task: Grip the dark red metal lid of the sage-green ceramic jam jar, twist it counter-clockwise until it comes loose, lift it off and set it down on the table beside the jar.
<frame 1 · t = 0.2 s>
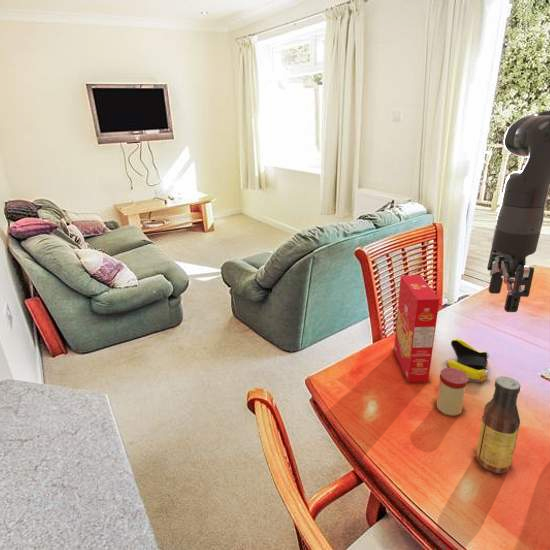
hand: (501, 301, 79), 29 cm above the table, tool pointing down, fingers open, 8 cm apart
food packaging: (409, 365, 107), on the table
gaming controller: (466, 369, 104), on the table
lid: (454, 376, 88), point 9 cm above the table, screwed on, not yet turned
jar: (448, 407, 91), on the table
sauce bottle: (491, 462, 77), on the table
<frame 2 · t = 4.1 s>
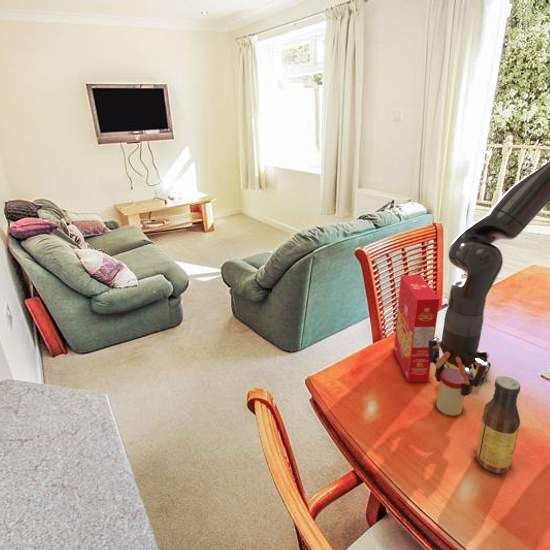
hand: (452, 386, 89), 6 cm above the table, tool pointing down, fingers closed on lid, 6 cm apart
lid: (454, 376, 88), point 9 cm above the table, screwed on, not yet turned, touching gripper
everything else where it was.
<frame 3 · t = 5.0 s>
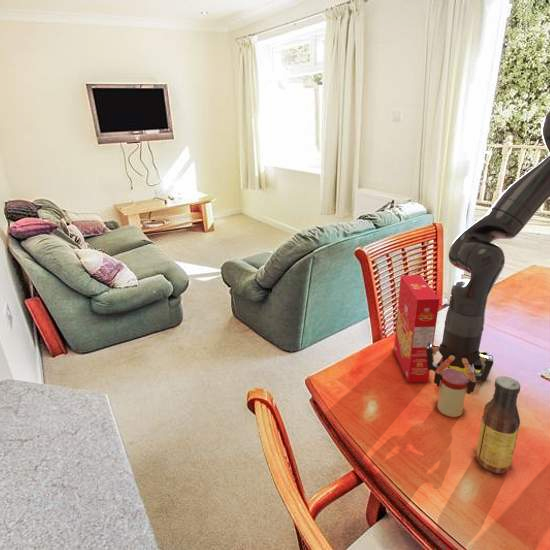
hand: (452, 387, 89), 6 cm above the table, tool pointing down, fingers closed on lid, 6 cm apart
lid: (454, 377, 87), point 9 cm above the table, turned 28° so far, risen 0.1 cm, still on its thread, touching gripper
everything else where it was.
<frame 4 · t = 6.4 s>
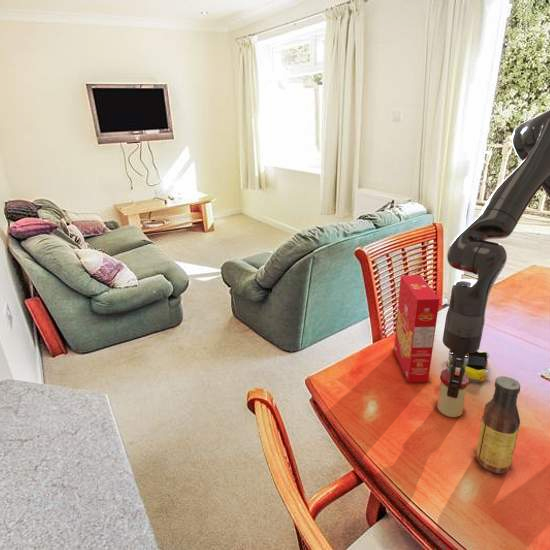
hand: (452, 387, 89), 6 cm above the table, tool pointing down, fingers closed on lid, 6 cm apart
lid: (454, 377, 87), point 9 cm above the table, off its thread, touching gripper
jar: (449, 408, 91), on the table, touching gripper
everything else where it was.
when the fingers open (0 cm above the table, at t = 16.3 s): lid drops 2 cm, point 1 cm above the table.
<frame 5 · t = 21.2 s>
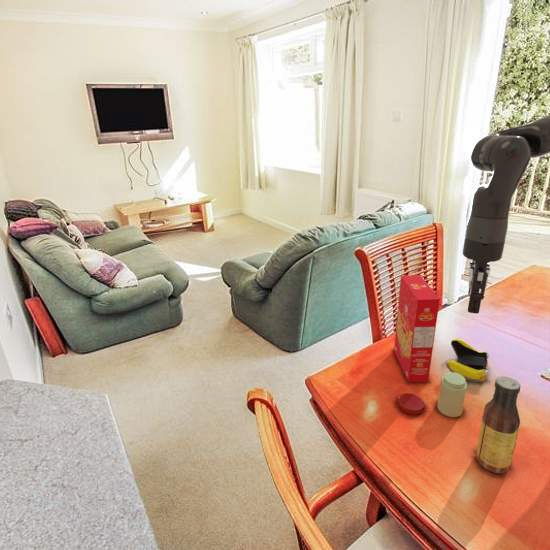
hand: (473, 303, 85), 26 cm above the table, tool pointing down, fingers open, 8 cm apart
lid: (410, 402, 92), point 1 cm above the table, off its thread
jar: (449, 408, 91), on the table
everything else where it was.
at the end: lid came off its thread; lid point 1.1 cm above the table; the gripper is holding nothing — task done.
